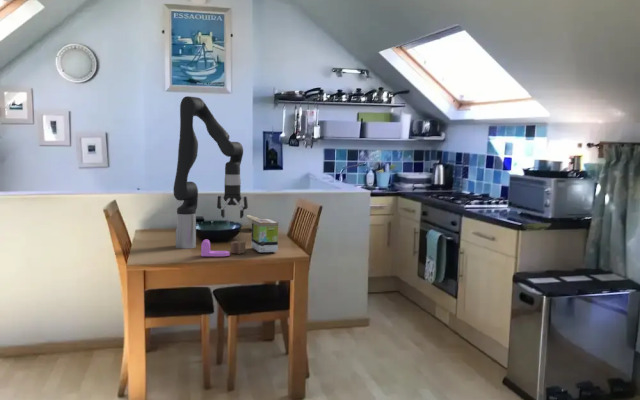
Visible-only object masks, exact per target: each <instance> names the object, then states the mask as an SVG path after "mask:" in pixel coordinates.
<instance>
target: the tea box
mask: <svg viewBox="0 0 640 400" xmlns="http://www.w3.org/2000/svg"><path fill="white" fill-rule="evenodd" d="M278 243H279V222H278V221H276V220H273V219H270V218H259V219H252V229H251V248H252V249H254V251H257V252H258V253H275V252H278V246H279V244H278Z"/></svg>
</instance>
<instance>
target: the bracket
mask: <svg viewBox="0 0 640 400" xmlns="http://www.w3.org/2000/svg"><path fill="white" fill-rule="evenodd" d="M200 246H201V247H200V248H201V249H200V250H201V251H200V252H201V253H200V255H201V257H228V256H229V257H230V255H231V254H230V253H231V251H228V250H211V242H210V240H209V239H203V240H202V242H201V245H200Z"/></svg>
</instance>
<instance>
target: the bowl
mask: <svg viewBox="0 0 640 400" xmlns="http://www.w3.org/2000/svg"><path fill="white" fill-rule="evenodd" d="M246 218H247V220H248V227H249V229H250V230H252V219H260V218H259V217H256V216H253V215H250V214H247V215H246Z"/></svg>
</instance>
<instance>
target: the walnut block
mask: <svg viewBox="0 0 640 400" xmlns="http://www.w3.org/2000/svg"><path fill="white" fill-rule="evenodd" d="M230 253H231V254H232V253H233V254H238V255H239V254H244V253H246V241H242V240H241V241H240V240H235V241H231V242H230Z"/></svg>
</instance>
